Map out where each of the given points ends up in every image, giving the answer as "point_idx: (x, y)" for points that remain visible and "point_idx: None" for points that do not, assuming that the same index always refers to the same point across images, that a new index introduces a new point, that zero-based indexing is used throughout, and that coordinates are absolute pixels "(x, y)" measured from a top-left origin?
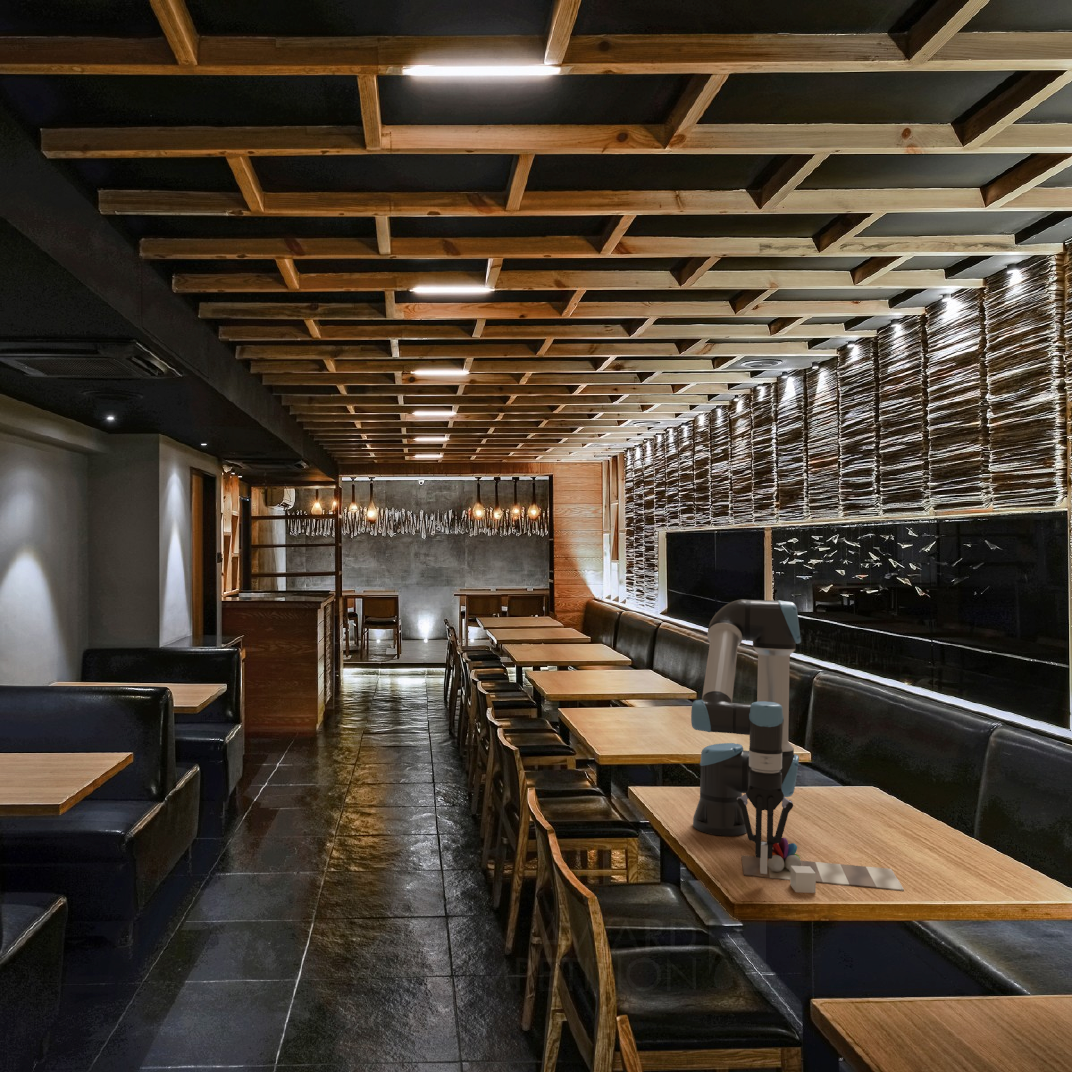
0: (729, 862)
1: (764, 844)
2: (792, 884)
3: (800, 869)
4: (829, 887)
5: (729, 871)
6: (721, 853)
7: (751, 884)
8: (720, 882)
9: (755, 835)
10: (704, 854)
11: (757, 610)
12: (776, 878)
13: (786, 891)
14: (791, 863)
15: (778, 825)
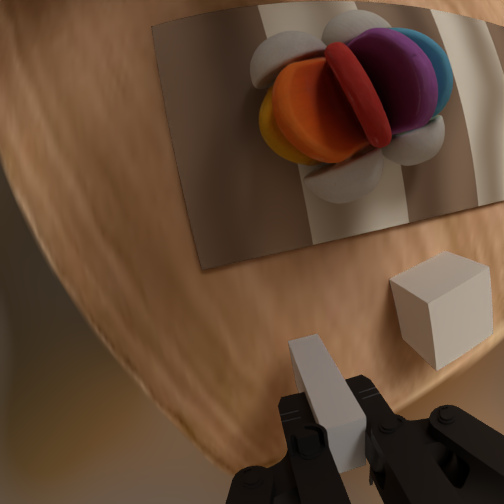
0: (112, 128)
1: (348, 461)
2: (400, 308)
3: (456, 326)
4: (488, 236)
5: (135, 246)
6: (73, 44)
7: (251, 349)
8: (143, 378)
9: (297, 490)
10: (18, 99)
11: None
12: (338, 237)
13: (375, 349)
14: (411, 163)
15: (490, 492)
